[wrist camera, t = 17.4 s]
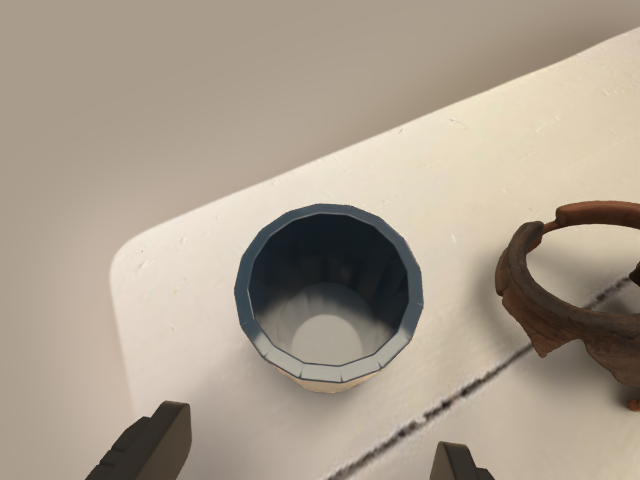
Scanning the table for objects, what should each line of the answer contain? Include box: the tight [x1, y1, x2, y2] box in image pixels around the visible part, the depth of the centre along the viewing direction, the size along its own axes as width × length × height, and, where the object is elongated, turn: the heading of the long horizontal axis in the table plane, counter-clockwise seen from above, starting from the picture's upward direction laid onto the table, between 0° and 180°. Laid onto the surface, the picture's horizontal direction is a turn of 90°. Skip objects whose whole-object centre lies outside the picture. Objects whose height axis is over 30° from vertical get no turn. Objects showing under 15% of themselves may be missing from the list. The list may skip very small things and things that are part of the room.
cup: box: [234, 204, 424, 393], centre depth 14 cm, size 6×6×8 cm
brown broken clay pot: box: [495, 201, 640, 411], centre depth 16 cm, size 12×10×8 cm
